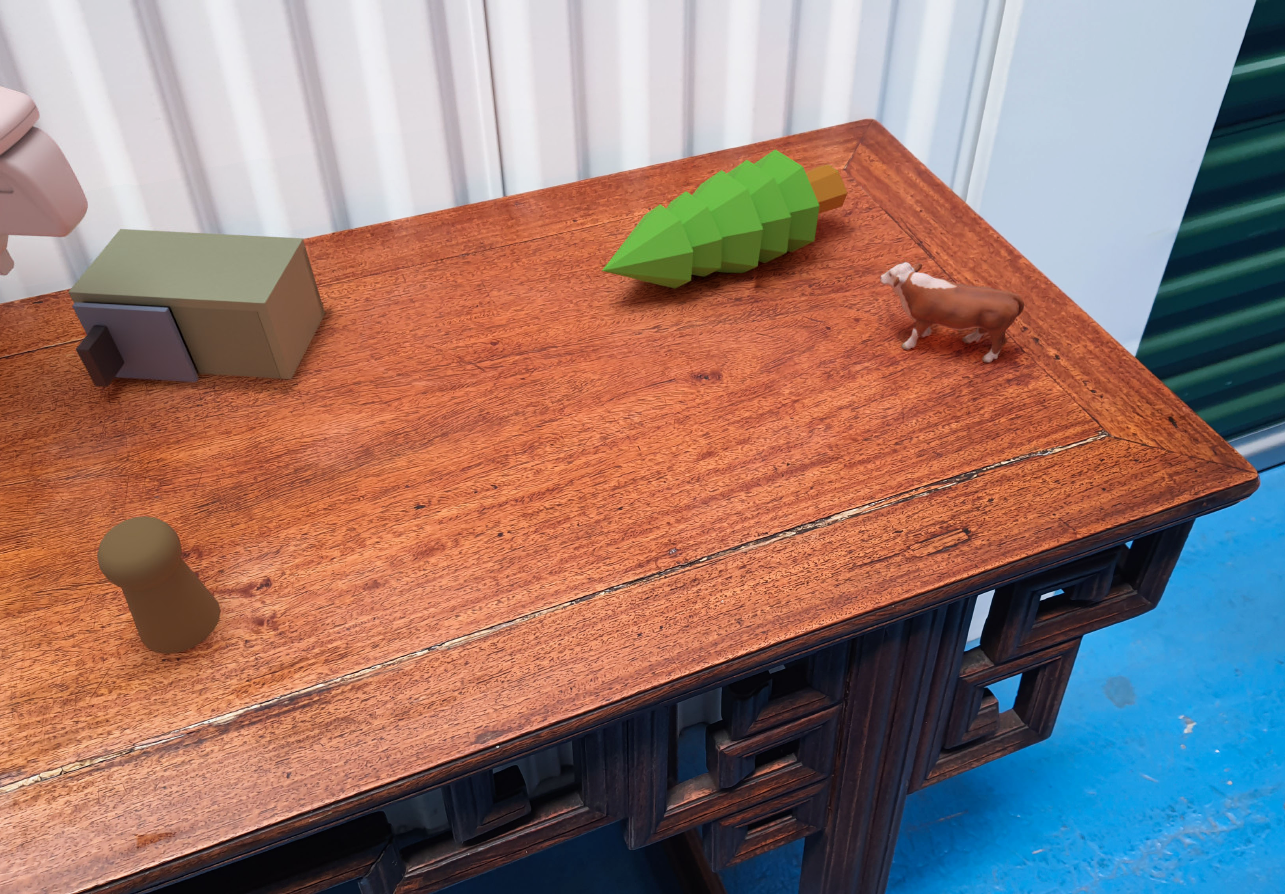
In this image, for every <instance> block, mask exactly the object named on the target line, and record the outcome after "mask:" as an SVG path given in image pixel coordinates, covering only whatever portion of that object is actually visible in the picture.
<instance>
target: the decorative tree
mask: <svg viewBox="0 0 1285 894" xmlns="http://www.w3.org/2000/svg"><path fill="white" fill-rule="evenodd" d="M847 196H848V190H847V186H845V183H844V181H843V178H842V175H841V174H840V171H839V170H838V169H836V168H835V167H833V166H832V165H830V164H823V165H818V166H815V167H814V168H812V169H810V170H807V171H805V168H804V166H803V165H801V164H800V163H798V162H797V161H795V160H793V159H792V158H790V157H789V156H787V155H785V154H784V153H782V152H780V151H778V150H777V149H773V150H772V151H771V152H769V153H767V154H766V155H765V156H763V157H762V158H760V159H759V160H757V161H755V162H754V163H753V162H751V160H748V159H746V160H744V161H743V162H742V163H740V164H738V165H737V166H735V167H734V168H733V169H731V170H730V171H728V172H727V173H726V171H724V170H722V169H720V170H719V171H718V172H717V173H715V174H713V175H712V176H711V177H709V178H708V179H706V180H705V181H704V182H702V183H701V184H699V186H698V187H697V189H695V191H694V192H693V193H692V194H691V193H690V192H689V191H687V190H685V191H684V192H682V193H681V194H679V195H678V196H677V197H675V198H674V199H673V200H671V201H670V202H669V204H668V205H667V207H665V206H663V205H662V204H658V205H657V206H655V207H654V208H653V209H651V210H650V211H648V212H647V213H645V214H644V215H643V217H642V218H641V219H640V221H639V222H638V223H637V224H636V226H635V227H634V229H633V230H632V231H631V232H630V233H629V235H628V236H627V238H625V240H624V241H623V243H622V244H621V245H620V247H618V249H617V251H616V252H615V253H614V254H613V256H612V257H611V258H610V259H609V261H608V262H607V264H606V265H605V266H604V267H603V268H602V270H601V272H603V273H604V272H605V273H609V274H613V275H617V276H620V277H625V278H629V279H634V280H638V281H641V282H646V283H650V284H654V285H659V286H661V287H667V288H671V289H677V288H679V287H681V286H684V285H685V284H687V283H689V282H691V281H692V275H693V276H697V277H698V276H699V277H703V278H705V277H707V276H709V275H711V274H712V273H714V272H717V273H730V274H731V273H732V274H744V273H747V272H748V271H751V270H753V269H755V268H756V267H758V265H759V262H760V263H763V264H766V263H768V262H770V261H773V260H775V259H777V258H778V257H781V256H783V255H784V254H787V252H790V253H794V252H795V251H797V250H799V249H801V248H803V247H805V246H808V245H810V244H812V243H814V242H815V240H816V233H817V226H818V220H819V215H820V214H822V213H826V212H829V211H832V210H835V209H839V208H842V207H843V205H844V203H845V201H846V198H847Z"/></svg>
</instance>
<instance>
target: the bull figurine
mask: <svg viewBox="0 0 1285 894" xmlns="http://www.w3.org/2000/svg"><path fill="white" fill-rule="evenodd" d="M922 268H923V264H922V263H921V262H917V263H915V264H914V265H912V264H910V263H909V262H907V261H904V262H902V263H899V264H896V265H895V266H894V267H892V268H889V270H887V271H886V272H885V273H882V274H881V275H880V279H879V281H880V284H882V285H884V286H886V285H887V286H890V288H891V290H892V291H893V293H894V294H895V295H896V296H898V298H899V301H900V306H901V309H902V310H903V312H905V314H906V315H907V317H908V318H909V319H910V320H912V321H913V322H914V323H915V325H914V328H912V331H911V335H910V336H909V338H908V339H907V340H906V341H905V342H902V344H901V348H902V349H903V350H906V351H909V350H911V348H912V349H913V348H915V347H916V346H917V341H918V339H919V338H925V337H926V336H927V337H929V336H930V335H931V334H932V329H931V326H932V325H939V326H942V327H944V328H948V329H951V330H957V331H958V332H963V331H965V330H970V329H973V328H977V329H976V330H975V331H973V332H972V333H969V334H967V335H966V336H964V337H962V341H963V342H964V343H965V344H971V343H973V342H974V341H975V342H976V343H978V342H979V341H980V340H981V338H982V337H983V335H985V334H986V333H987V334H988V335H989V338H990V340H991V348H990V350H989V351H988V352H987V353H986V354H984V355H983V356H982V357H981V358H982V359H981V360H982V362H983V363H986V364H991V363H992V361H994V360H997V359H998V357H999V354H1000V352H1001V351H1002V348H1003V347H1004V346H1006V345H1007V343H1008V339H1007V337H1006V331H1007V330H1008V329H1009V328H1010V327H1011V326H1013V324H1014V322H1015V321H1016V319H1017V317H1019V316H1020V315H1021V314H1022V313H1023V311H1024V309H1025V302H1024V300H1023V298H1022V297H1021V296H1020V295H1019V294H1018V293H1015V292H1012V291H1008V290H1001V289H996V288H993V287H990V286H976V285H970V284H964V283H960V282H959V283H958V282H953V281H950V280H948V279H945V278H941V277H933V276H931V275H930V274H927V273H924V272H919V271H920V270H921V269H922Z"/></svg>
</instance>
